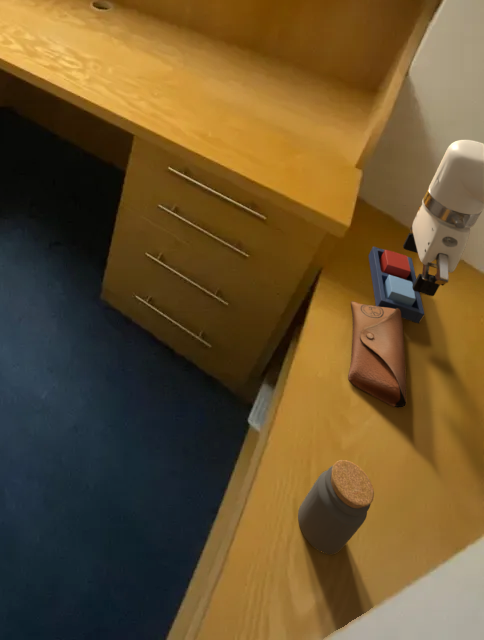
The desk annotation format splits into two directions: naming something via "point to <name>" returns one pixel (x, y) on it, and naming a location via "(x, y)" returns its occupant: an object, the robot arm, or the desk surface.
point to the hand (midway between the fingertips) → (417, 270)
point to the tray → (378, 280)
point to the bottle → (335, 506)
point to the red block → (394, 264)
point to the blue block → (399, 290)
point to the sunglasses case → (378, 353)
